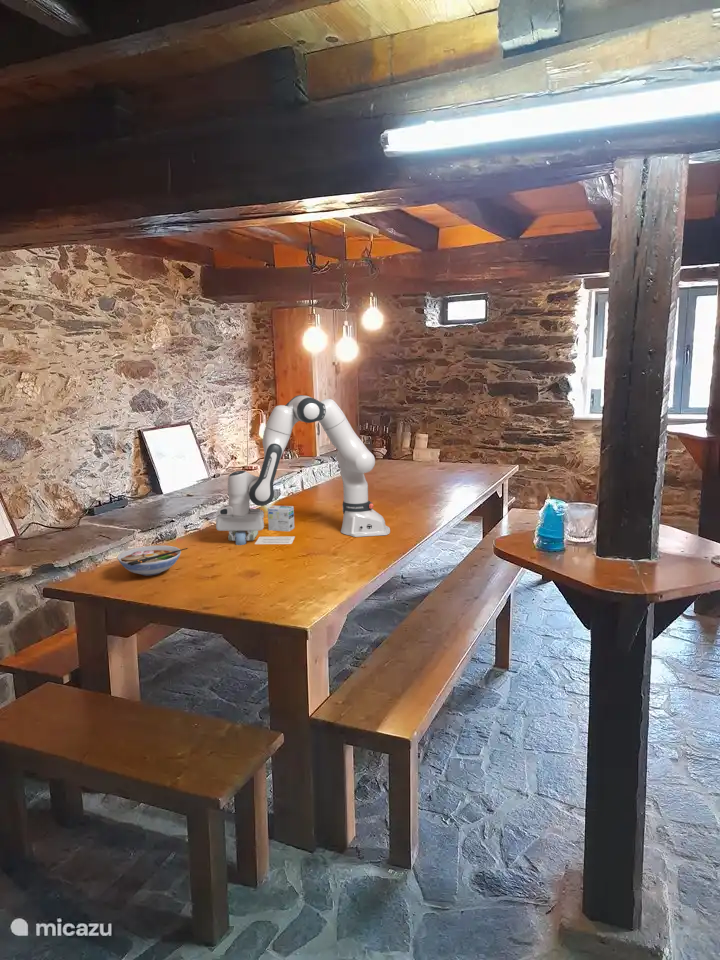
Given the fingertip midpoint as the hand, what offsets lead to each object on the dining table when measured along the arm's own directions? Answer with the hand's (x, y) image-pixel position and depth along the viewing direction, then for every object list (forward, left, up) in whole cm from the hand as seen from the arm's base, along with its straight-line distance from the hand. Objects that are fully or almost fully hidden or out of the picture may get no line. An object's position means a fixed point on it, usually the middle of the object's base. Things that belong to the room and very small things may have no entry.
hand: (240, 540), depth 283 cm
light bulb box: (-14, -24, -2) cm, 28 cm away
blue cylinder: (0, 0, -2) cm, 2 cm away
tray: (+1, -10, -2) cm, 11 cm away
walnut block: (+1, -10, -1) cm, 11 cm away
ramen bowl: (+26, +38, -2) cm, 46 cm away
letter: (-14, -5, -2) cm, 15 cm away
